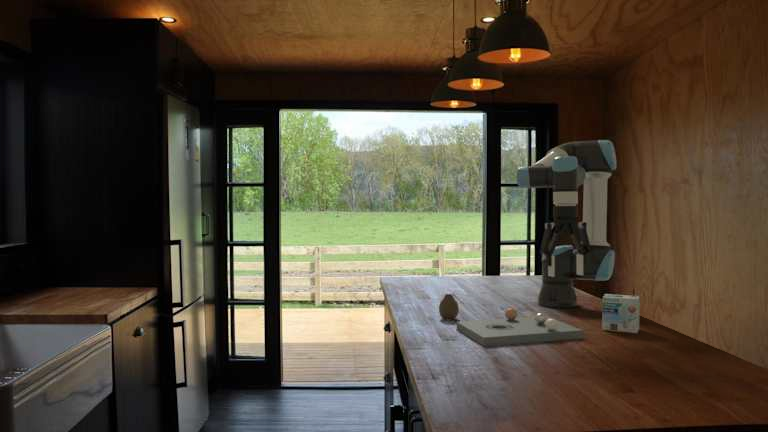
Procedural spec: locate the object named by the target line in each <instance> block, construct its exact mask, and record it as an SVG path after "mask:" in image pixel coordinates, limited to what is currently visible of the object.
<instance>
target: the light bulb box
mask: <svg viewBox="0 0 768 432" xmlns="http://www.w3.org/2000/svg"><path fill="white" fill-rule="evenodd" d="M601 301H602V307H601V308H602V309H601V313H602V314H601V315H602V317H601V324H602V326H601V330H602V331H611V332H619V333H620V332H623V333H632V334H638V332H639V330H640V295H626V294H611V293H604V295H603V296H602V300H601Z"/></svg>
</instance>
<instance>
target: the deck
mask: <svg viewBox="0 0 768 432" xmlns="http://www.w3.org/2000/svg"><path fill="white" fill-rule="evenodd" d="M545 316H546V321H547V320H548V319H554V320H555V321H556V322H557V328H556V329H555V330H552V331H551V330H548V329H547V328H546V326H545V323H546V322H545V323H544V324H538V323H536V321H535V316H526V317H525V316H524V317H516V318H515V319H514V320H509V319H507V318H495V319H479V320H478V319H477V320H465V321H463V320H462V321H456V330H457V331H458V332H460V333H462V334H463V335H465V336H466V337H468V338H470V339H471V340H473V341H475V342H476V343H478V344H479V345H481V346H482V347H488V346H489V347H490V346H503V345H516V344H527V343H528V344H529V343H530V344H531V343H543V342H552V341H553V342H555V341H566V340H567V341H569V340H580V339H581V340H582V339H584V335H583V334H584V332H583V331H584V330H583V329H580V328H578V327H576V326H573V325H571V324H569V323H566V322H563V321H561V320H557V319H555V318H552V317H550V316H548V315H545Z"/></svg>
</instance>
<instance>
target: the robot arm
mask: <svg viewBox="0 0 768 432" xmlns="http://www.w3.org/2000/svg"><path fill="white" fill-rule="evenodd" d="M617 163H618V162H617V156H616V150H615V147H614V143H613V142H612V141H611V140H609V139H597V140H595V139H594V140H583V141H570V142H566V143H563V144H560V145H558V146H555V147H554V148H551V149H550V150H549V151H547V153H546V154H545V156H544V157H542V159H540V160H537V162H535V163H534V164H532V165H524V166H519V167H518V168H517V170H516V183H517V186H518V187H519V188H522V189H537V188H542V189H543V188H544V189H545V188H552V201H553V202H552V204H553V205H554V206H553V207H552V217H553V221H552V222H544V224H543V227H544V229H543V230H544V231H543V237H542V240H541V246H540V250H539V253H540V254H541V288H540V290H539V294H538V295H537V305H539V306H542V307H546V308H556V309H559V308H560V309H562V308H563V309H565V308H567V309H568V308H569V309H570V308H574V307H578V297H577V294H576V291H575V288H574V285H573V284H574V281H573V280H581V281H582V280H585V281H608V280H609V279H610V278H611V277H612V275H613V271H614V267H615V261H616V260H615V259H616V255H615V251H614V250H612V249H611V245H610V243H608V241H607V217H608V215H607V214H608V180H609V178H610V177H611V176H612V174H613V171H615V170H617ZM581 185H582V186H583V201H582V202H583V203H582V204H583V205H582V207H583V208H582V212H583V213H582V221H578V217H579V207H578V206H577V205H578V203H579V193H578V191H579V189H578V188H579V187H580V186H581ZM577 228H578V231H577ZM553 229H554V232H553V233H552V231H553ZM563 235H564V236H565V235H568V236H569V237H571V241H572V242H573V244H574V246H575V249H574V247H573V245H571V244H569V245H558V244H559V241H560V240H561V238H562V236H563ZM551 236H552V238H551Z"/></svg>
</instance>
